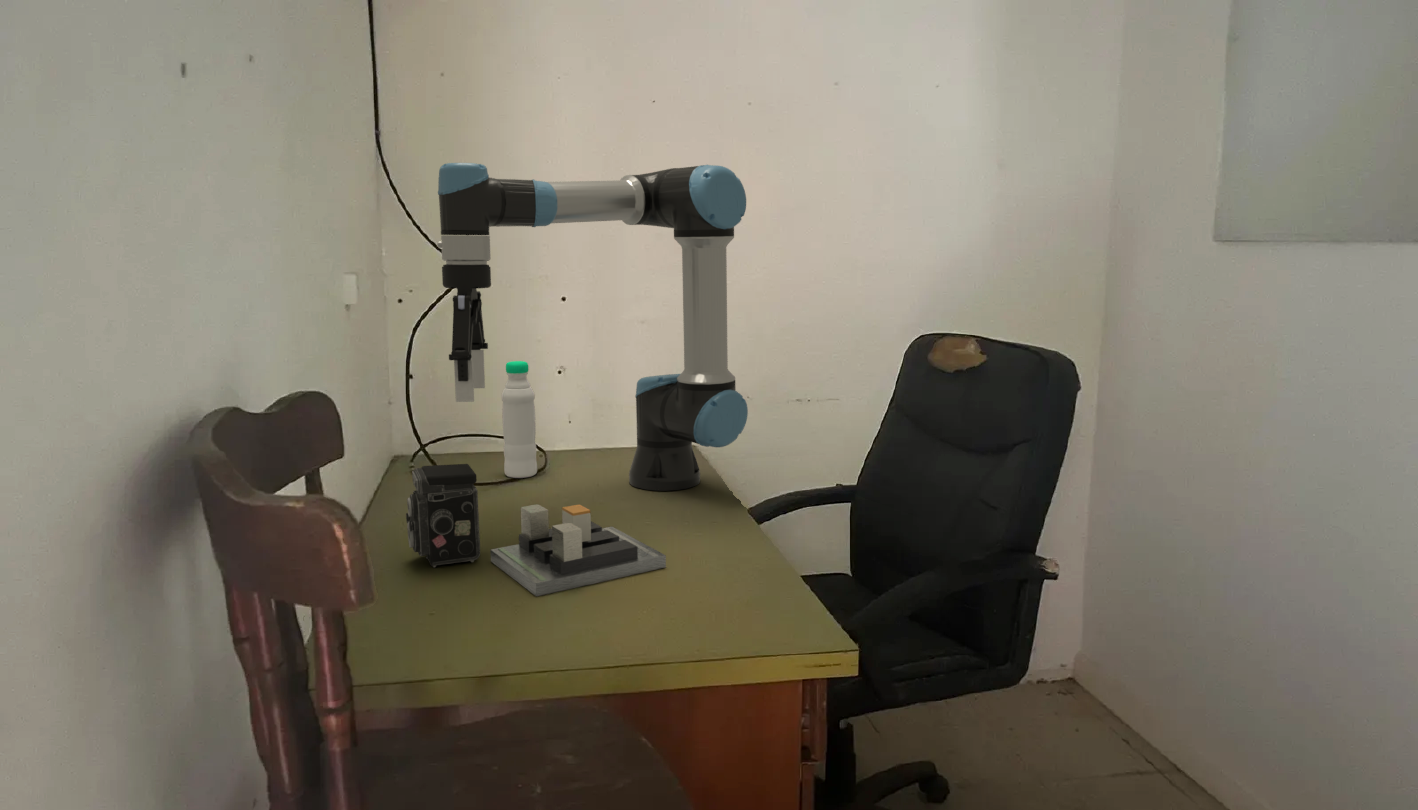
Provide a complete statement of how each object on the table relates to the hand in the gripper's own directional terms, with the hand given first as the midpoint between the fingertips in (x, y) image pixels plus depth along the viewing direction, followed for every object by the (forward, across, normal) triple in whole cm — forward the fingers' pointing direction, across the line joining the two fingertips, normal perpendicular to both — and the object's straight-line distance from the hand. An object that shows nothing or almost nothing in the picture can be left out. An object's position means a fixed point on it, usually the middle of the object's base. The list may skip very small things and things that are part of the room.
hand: (471, 394), depth 153 cm
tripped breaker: (+22, +10, +17) cm, 29 cm away
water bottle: (+26, -49, +3) cm, 56 cm away
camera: (+26, +6, -4) cm, 27 cm away
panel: (+26, +10, +17) cm, 33 cm away
